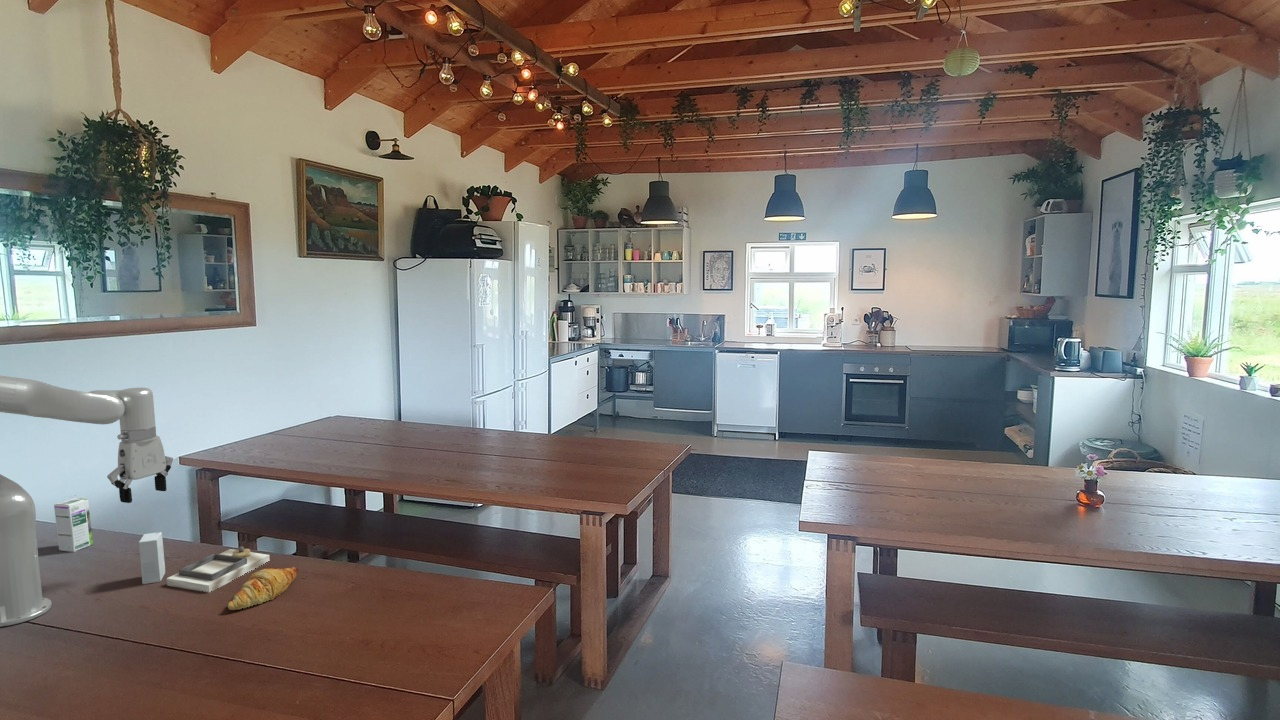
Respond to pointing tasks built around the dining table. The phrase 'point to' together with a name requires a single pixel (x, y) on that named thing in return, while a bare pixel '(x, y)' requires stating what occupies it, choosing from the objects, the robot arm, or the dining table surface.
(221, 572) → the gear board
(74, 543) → the syrup box
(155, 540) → the skincare box
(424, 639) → the dining table surface
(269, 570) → the croissant
